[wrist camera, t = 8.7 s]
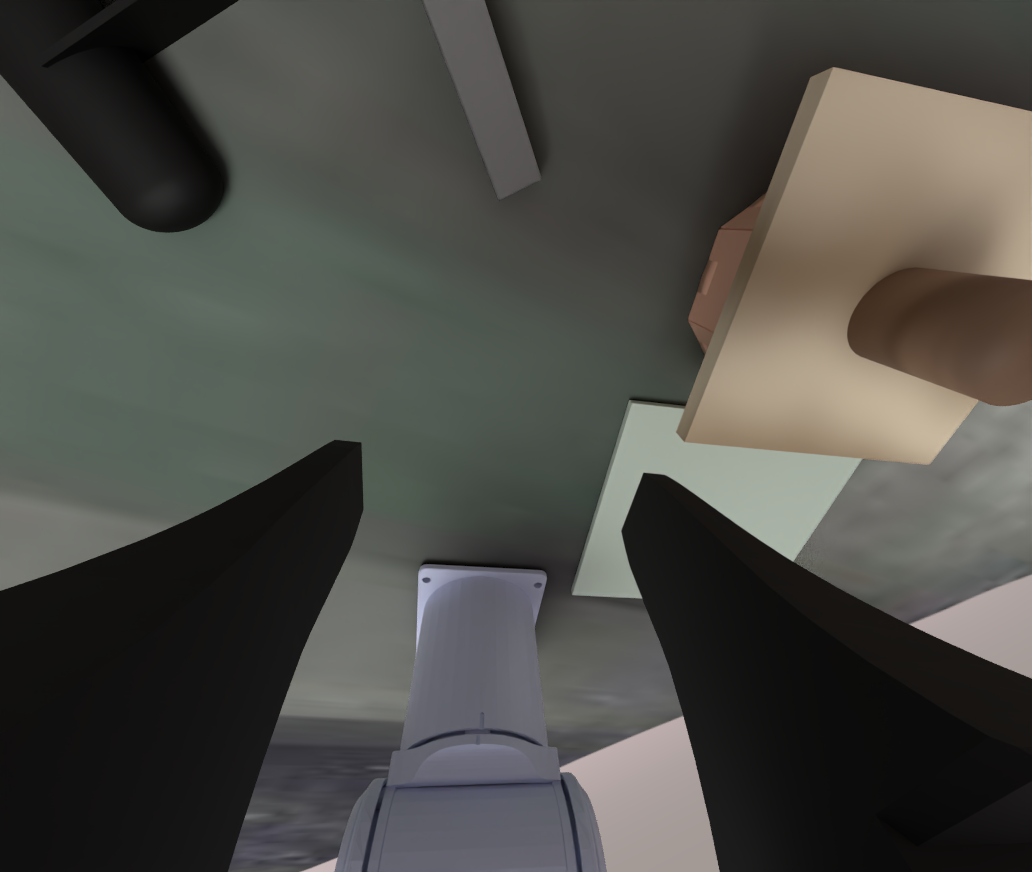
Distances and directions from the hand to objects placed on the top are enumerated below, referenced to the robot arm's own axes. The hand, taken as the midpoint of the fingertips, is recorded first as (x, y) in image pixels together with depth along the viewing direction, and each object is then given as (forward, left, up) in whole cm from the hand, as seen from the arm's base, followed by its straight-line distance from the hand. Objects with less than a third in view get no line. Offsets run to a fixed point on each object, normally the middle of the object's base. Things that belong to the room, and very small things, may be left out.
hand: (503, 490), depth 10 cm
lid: (+5, -13, -5) cm, 15 cm away
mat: (-8, -14, -9) cm, 18 cm away
